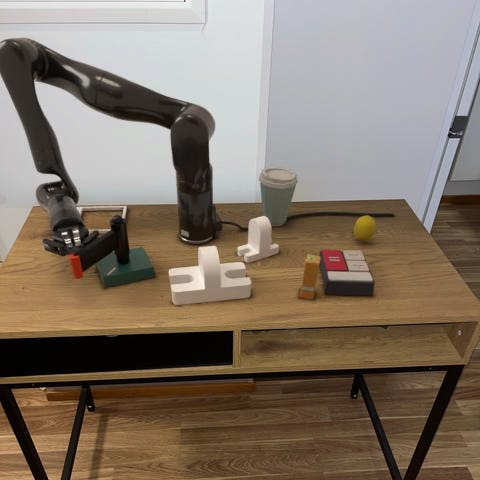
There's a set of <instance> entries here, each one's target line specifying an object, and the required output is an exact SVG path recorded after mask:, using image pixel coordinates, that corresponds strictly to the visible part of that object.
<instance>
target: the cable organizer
mask: <svg viewBox="0 0 480 480" xmlns="http://www.w3.org/2000/svg"><path fill="white" fill-rule="evenodd" d="M248 228H249V229H248V230H247V232H248V233H247V243H246V244H242V245H240V246H237V254H236V255H238V257H243V261H244V262H245V263H248V264H250V263H252V262H256V261H258V260H261V259H265V258H268V257H271V256H274V255H277V254H279V249H280V246H279V244H278V243H272V242H273V239H272V230H273V229H272V226H271V224H270V221H269V219H268V218H267V217H266V216H263V215H262V216H258V217H255V218H251V219H250V220H249V221H248Z"/></svg>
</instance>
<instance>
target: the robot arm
mask: <svg viewBox="0 0 480 480" xmlns="http://www.w3.org/2000/svg"><path fill="white" fill-rule="evenodd" d="M0 78H1V79H2V81H3V83H4V86H5V88H6V90H7V93H8V95H9V97H10V99H11V101H12V104H13V107H14V108H15V111H16V113H17V115H18V118H19V120H20V123H21V125H22V128H23V131H24V133H25V137H26V141H27V143H28V147H29V151H30V154H31V157H32V161H33V164H34V168H35V170H36V171H37V173H39V174H42V175H55V176H56V177H58V178H59V179H60V180H54V181H49V182H44V183H41V184H39V185H38V186H37V187H36V189H35V199H36V201H37V204H38V205H39V207H40V208H41V209H42V210H43V211H44V212H45V213H47V215H48V222H49V227H50V230H51V235H50V239H49V238H42V244H43V248H44V250H45V252H49V253H51V254H54V255H57V256H58V257H59V256H60V257H66V256H68V257H69V256H70V255H71V254H74V253H76V252H77V251H79V250H80V249H82V248H84V247H85V246H87V245H88V244H90V243H91V242H93V241H94V240H96V239H97V238H99V237H101V236H100V234H99V231H98V230H99V229H93V230H94V231H93V232H89V230H90V229H88V228H87V227H86V226H85V223H84V221H83V217H82V215H80V213H79V211H78V210H77V207H78V206H77V204H78V203H79V201H80V193H79V190H78V188H77V186H76V184H75V183H74V181H73V179H72V178H71V176H70V174H69V172H68V170H67V167H66V165H65V162H64V159H63V154H62V151H61V146H60V143H59V140H58V137H57V134H56V132H55V131H54V128H53V126H52V125H51V122H50V121H49V120H48V117H47V116H46V114H45V113H44V110H43V108H42V105H41V103H40V100H39V98H38V95H37V89H36V83H35V82H37V83H40V84H46V85H49V86H51V87H55V88H58V89H61V90H63V91H65V92H67V93H68V94H70V95H72V96H73V97H74V98H75V99H76V100H78V101H79V102H80V103H82V104H83V105H84V106H86V107H88V108H89V109H92V110H93V111H96V112H98V113H100V114H102V115H106V116H108V117H110V118H113V119H116V120H120V121H127V122H133V123H144V124H151V125H155V126H160V127H162V128H164V129H167V130H169V131H170V132H169V137H170V138H169V139H170V150H171V151H170V152H171V160H172V161H171V162H172V166H173V169H174V170H175V183H176V184H175V186H176V201H177V203H176V204H177V216H178V218H177V219H178V238H179V240H180V241H181V242H183V243H185V244H188V245H203V244H208V243H209V242H211V241H212V240H214V239H217V233H219V232H223V225H231V226H234V227H237V228H238V229H239V230H243V231H248V229H249V227H244V226H241V225H239V224H238V223H237V222H233V221H224V220H222V218H221V217H220V215H219V213H218V212H217V206H216V204H215V203H214V180H213V179H214V177H213V176H214V167H213V165H212V163H211V162H210V161H211V160H210V141H211V139H212V138H213V136H214V134H215V131H216V120H215V118H214V116H213V114H212V113H211V112H210V111H209V110H208V109H207V108H206V107H204V106H202V105H200V104H196V103H193V102H189V101H186V100H182V99H178V98H175V97H172V96H168V95H165V94H162V93H160V92H157V91H155V90H153V89H151V88H149V87H147V86H144V85H141V84H140V83H137V82H134V81H132V80H129V79H128V78H125V77H123V76H120V75H118V74H115V73H113V72H110V71H108V70H105V69H102V68H99V67H97V66H94V65H91V64H88V63H85V62H82V61H79V60H75V59H73V58H70V57H67V56H65V55H63V54H61V53H59V52H57V51H55V50H54V49H51V48H49V47H48V46H46V45H44V44H42V43H41V42H39V41H37V40H35V39H32V38H29V37H13V38H6V39H3V40H1V41H0ZM316 215H318V216H319V215H347V216H348V215H349V216H366V215H368V216H370V217H372V216H373V217H376V216H377V217H383V216H384V217H393V216H395V213H394V212H355V211H354V212H352V211H314V212H313V211H312V212H304V213H299V214H294V215H289V216H287V219H286V221H288V220H292V219H296V218H301V217H306V216H316Z"/></svg>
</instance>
